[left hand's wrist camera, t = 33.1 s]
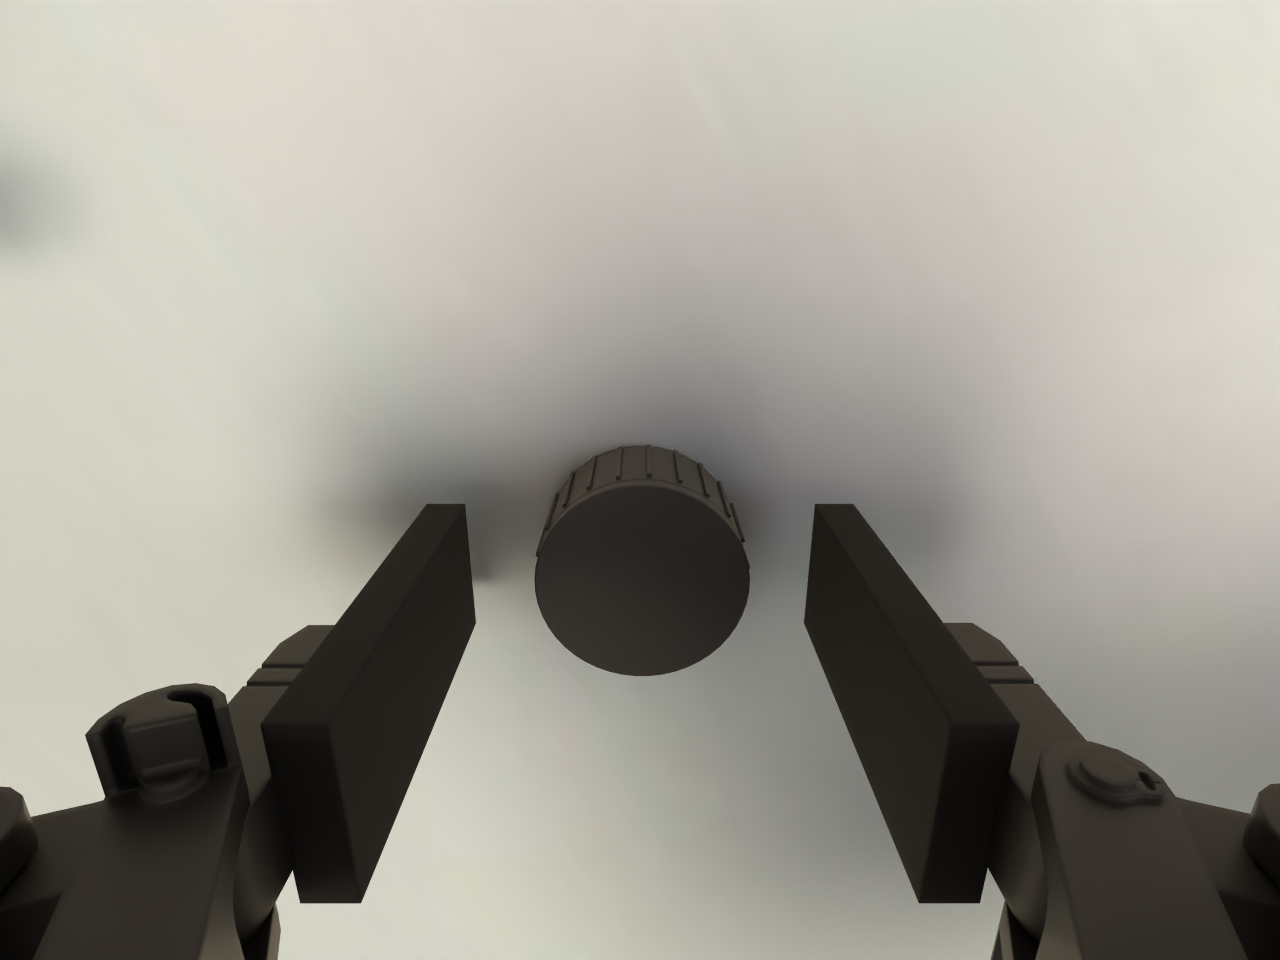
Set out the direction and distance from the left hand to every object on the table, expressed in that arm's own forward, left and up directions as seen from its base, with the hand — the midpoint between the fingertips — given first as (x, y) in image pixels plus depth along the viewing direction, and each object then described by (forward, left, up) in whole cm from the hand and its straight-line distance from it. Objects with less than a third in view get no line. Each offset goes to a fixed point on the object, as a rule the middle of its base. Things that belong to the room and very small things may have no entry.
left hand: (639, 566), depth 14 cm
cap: (0, 0, +1) cm, 1 cm away
